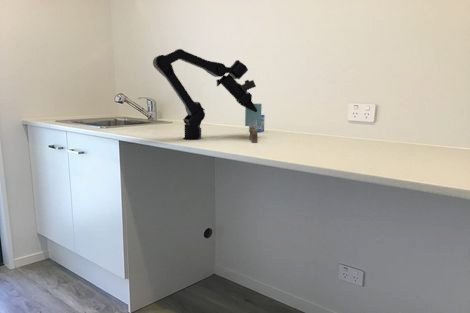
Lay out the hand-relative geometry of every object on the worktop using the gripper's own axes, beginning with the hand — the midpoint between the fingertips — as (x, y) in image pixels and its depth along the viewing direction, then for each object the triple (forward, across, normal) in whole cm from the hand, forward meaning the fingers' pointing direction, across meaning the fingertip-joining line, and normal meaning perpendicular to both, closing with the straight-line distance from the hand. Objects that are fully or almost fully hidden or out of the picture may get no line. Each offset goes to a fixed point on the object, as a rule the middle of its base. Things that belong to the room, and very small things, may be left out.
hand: (256, 111), depth 170 cm
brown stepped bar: (+7, -11, +10) cm, 16 cm away
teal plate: (+4, 0, +6) cm, 7 cm away
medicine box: (+10, +19, +7) cm, 23 cm away
